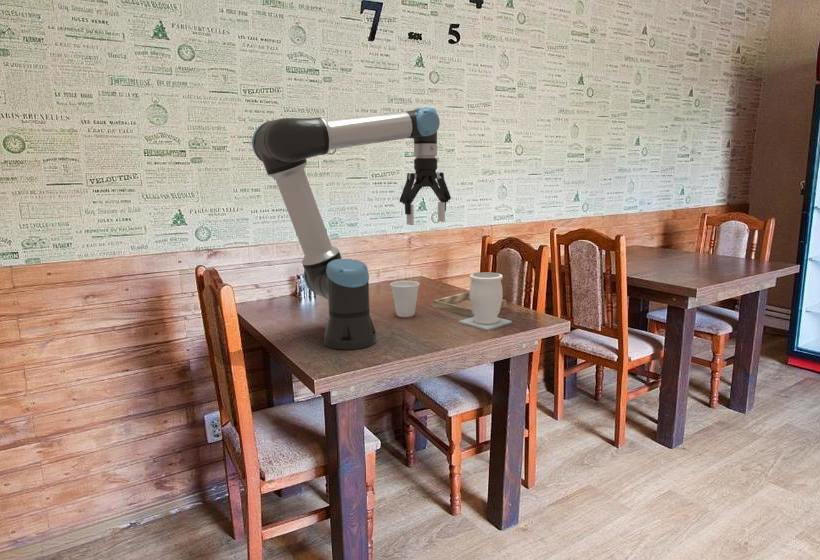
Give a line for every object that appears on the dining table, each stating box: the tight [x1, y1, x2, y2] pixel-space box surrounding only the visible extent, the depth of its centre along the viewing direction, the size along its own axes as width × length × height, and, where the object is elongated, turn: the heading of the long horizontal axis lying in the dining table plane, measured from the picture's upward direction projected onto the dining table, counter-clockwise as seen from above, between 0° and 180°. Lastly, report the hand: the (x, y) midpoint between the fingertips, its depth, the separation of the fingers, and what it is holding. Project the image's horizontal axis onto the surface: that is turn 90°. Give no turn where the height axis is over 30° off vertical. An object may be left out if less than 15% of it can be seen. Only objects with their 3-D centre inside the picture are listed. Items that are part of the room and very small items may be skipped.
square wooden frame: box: [431, 291, 507, 318], centre depth 196 cm, size 18×18×2 cm
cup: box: [389, 280, 421, 318], centre depth 186 cm, size 10×10×11 cm
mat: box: [458, 316, 513, 332], centre depth 176 cm, size 12×12×1 cm
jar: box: [469, 271, 504, 324], centre depth 175 cm, size 11×10×15 cm
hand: (426, 223), depth 183 cm, fingers open, 13 cm apart
